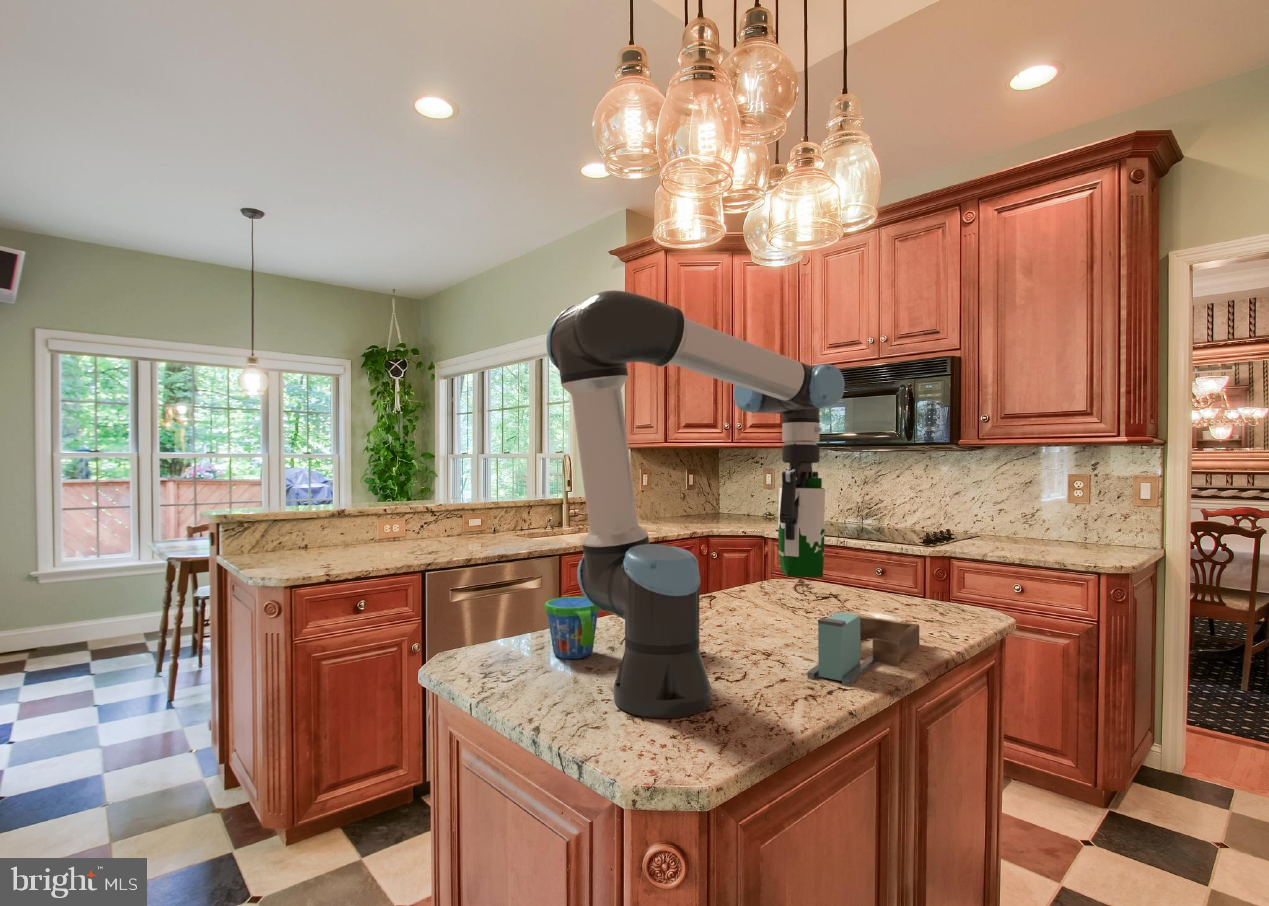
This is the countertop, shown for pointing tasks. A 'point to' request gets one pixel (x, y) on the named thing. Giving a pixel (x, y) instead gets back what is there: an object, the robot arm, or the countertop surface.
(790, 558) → the soya milk
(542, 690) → the countertop surface
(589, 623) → the snack cup
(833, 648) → the slider block
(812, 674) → the rails
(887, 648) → the cradle
